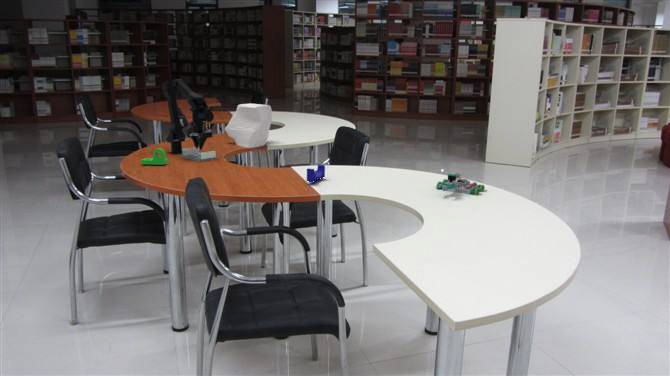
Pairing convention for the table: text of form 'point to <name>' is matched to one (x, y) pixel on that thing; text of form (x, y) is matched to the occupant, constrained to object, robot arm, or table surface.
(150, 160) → the mechanical part
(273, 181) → the table surface
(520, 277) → the table surface
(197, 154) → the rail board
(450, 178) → the robot kit
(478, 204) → the table surface
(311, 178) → the cable clip
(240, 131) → the white faceted sculpture
